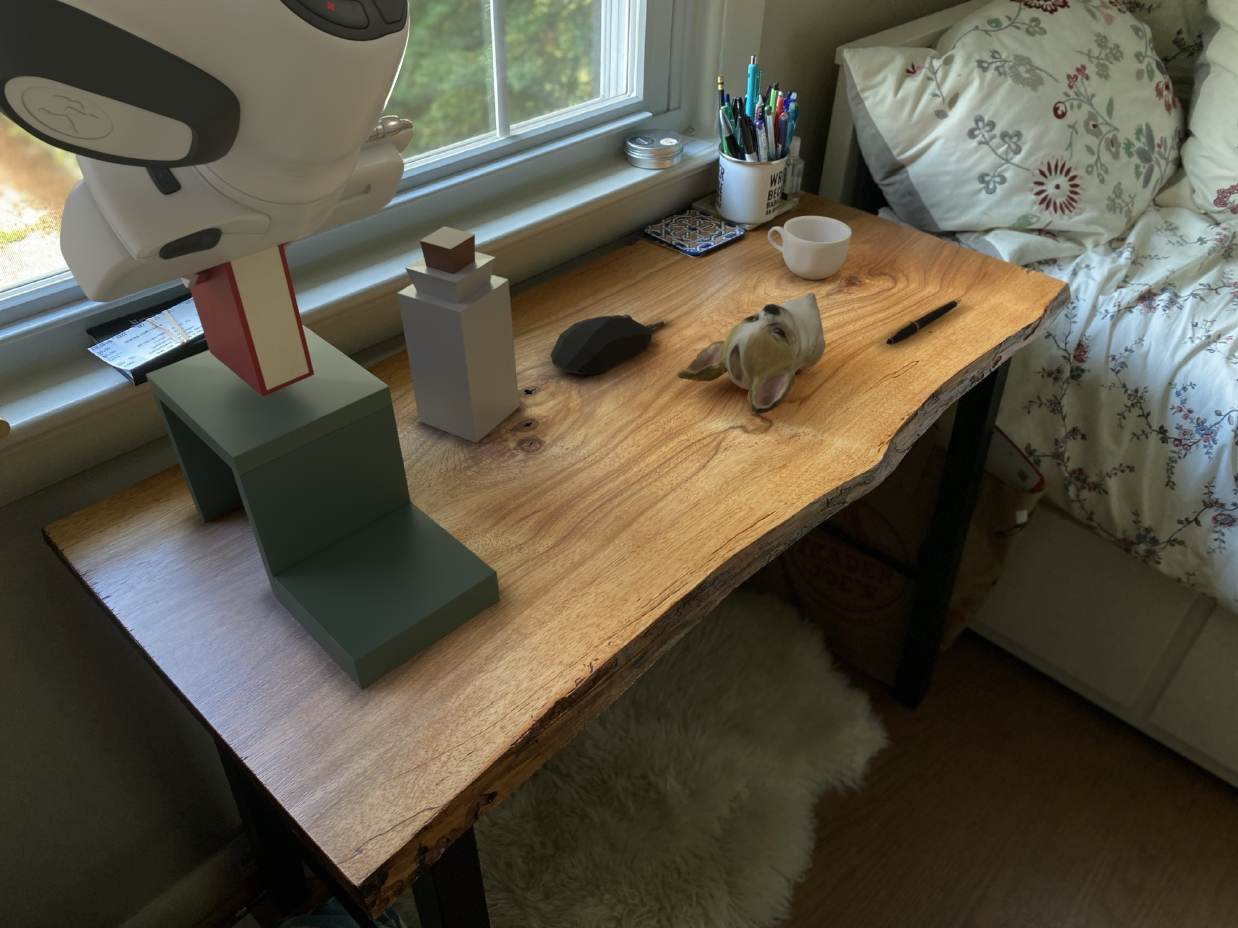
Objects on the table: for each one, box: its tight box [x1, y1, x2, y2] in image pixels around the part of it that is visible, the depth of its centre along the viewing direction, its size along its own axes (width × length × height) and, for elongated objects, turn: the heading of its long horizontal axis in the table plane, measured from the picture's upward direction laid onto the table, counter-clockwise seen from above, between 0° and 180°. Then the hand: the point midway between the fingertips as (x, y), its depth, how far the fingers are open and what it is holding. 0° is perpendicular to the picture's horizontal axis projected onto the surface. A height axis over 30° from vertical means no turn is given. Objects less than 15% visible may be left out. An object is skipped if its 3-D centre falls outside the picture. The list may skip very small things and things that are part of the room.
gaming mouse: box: [550, 313, 665, 376], centre depth 97 cm, size 6×15×4 cm, turn 132°
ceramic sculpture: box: [677, 292, 826, 416], centre depth 90 cm, size 11×9×15 cm
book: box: [189, 244, 314, 396], centre depth 63 cm, size 4×8×14 cm, turn 44°
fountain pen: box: [885, 298, 963, 346], centre depth 101 cm, size 14×1×2 cm, turn 132°
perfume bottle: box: [397, 225, 520, 444], centre depth 83 cm, size 7×7×18 cm
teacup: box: [767, 215, 853, 281], centre depth 111 cm, size 10×8×5 cm
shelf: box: [145, 324, 501, 691], centre depth 69 cm, size 12×25×14 cm, turn 44°
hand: (228, 262), depth 63 cm, fingers closed on book, 4 cm apart
